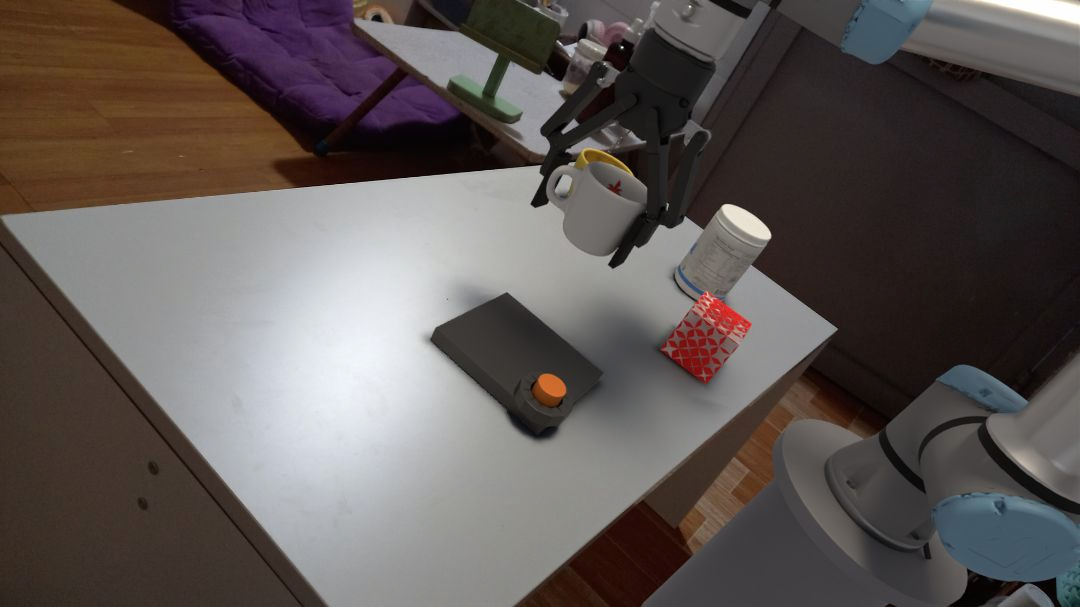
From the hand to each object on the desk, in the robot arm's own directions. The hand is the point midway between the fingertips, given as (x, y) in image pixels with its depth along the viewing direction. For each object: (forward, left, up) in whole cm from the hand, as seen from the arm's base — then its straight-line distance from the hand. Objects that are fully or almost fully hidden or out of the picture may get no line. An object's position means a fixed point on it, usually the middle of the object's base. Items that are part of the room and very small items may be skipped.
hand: (576, 233), depth 71 cm
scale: (-3, +5, -15) cm, 16 cm away
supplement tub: (-10, -42, -16) cm, 46 cm away
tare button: (-9, +10, -12) cm, 18 cm away
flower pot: (+14, -39, -16) cm, 45 cm away
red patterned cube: (-17, -22, -16) cm, 32 cm away
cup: (0, 0, -1) cm, 1 cm away
